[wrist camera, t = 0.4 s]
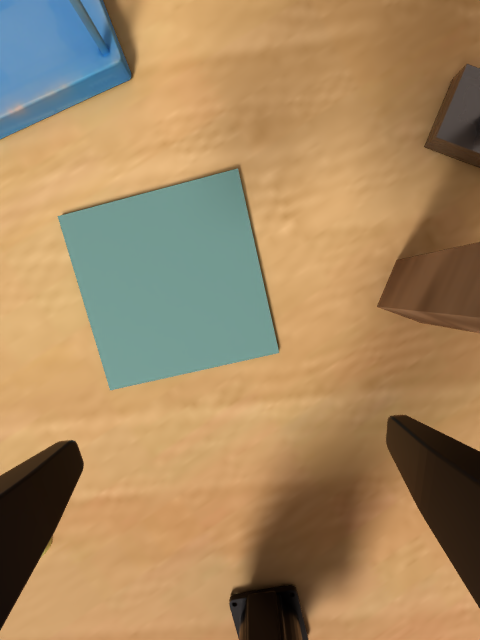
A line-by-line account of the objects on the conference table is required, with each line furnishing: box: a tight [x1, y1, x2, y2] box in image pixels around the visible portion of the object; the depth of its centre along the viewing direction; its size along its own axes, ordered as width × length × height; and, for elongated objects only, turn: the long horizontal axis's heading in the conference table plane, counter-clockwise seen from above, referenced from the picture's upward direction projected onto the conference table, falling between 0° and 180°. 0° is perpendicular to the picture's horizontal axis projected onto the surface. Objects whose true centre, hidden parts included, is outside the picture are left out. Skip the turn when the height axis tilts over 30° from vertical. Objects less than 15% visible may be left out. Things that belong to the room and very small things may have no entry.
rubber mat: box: [58, 169, 279, 390], centre depth 20 cm, size 15×15×1 cm
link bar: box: [377, 242, 480, 333], centre depth 15 cm, size 4×4×10 cm
